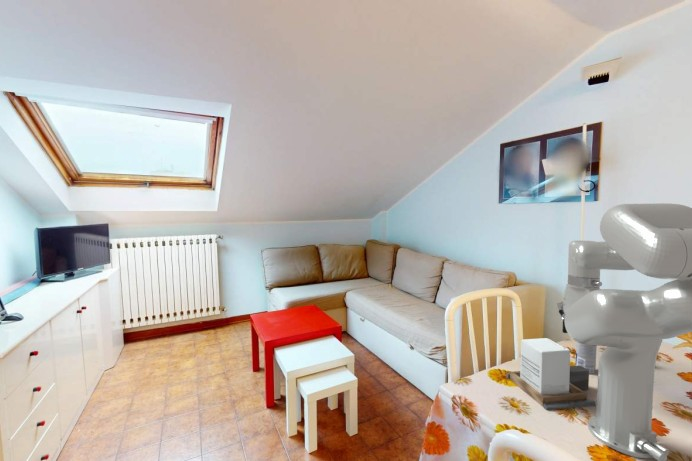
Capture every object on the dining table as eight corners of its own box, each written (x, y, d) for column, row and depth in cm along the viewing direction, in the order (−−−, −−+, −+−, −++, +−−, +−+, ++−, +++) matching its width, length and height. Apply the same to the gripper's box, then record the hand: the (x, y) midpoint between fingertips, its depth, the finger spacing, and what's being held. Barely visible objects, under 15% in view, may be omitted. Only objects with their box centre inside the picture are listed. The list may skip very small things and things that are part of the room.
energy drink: (588, 366, 105) (589, 332, 104) (599, 374, 100) (601, 339, 99) (571, 365, 106) (573, 332, 105) (582, 373, 100) (583, 338, 100)
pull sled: (605, 400, 85) (606, 380, 85) (542, 406, 83) (543, 385, 83) (564, 375, 99) (565, 357, 98) (509, 379, 96) (510, 361, 96)
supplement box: (545, 383, 94) (547, 337, 94) (569, 401, 86) (571, 350, 85) (518, 385, 93) (520, 338, 92) (540, 403, 84) (542, 351, 84)
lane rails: (595, 406, 83) (595, 401, 83) (546, 410, 81) (546, 405, 81) (548, 374, 100) (548, 370, 100) (506, 377, 98) (506, 373, 98)
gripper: (624, 288, 82) (622, 350, 82) (569, 276, 99) (568, 327, 100) (600, 288, 81) (597, 351, 81) (548, 276, 98) (547, 328, 99)
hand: (581, 338), depth 90 cm, fingers open, 9 cm apart
